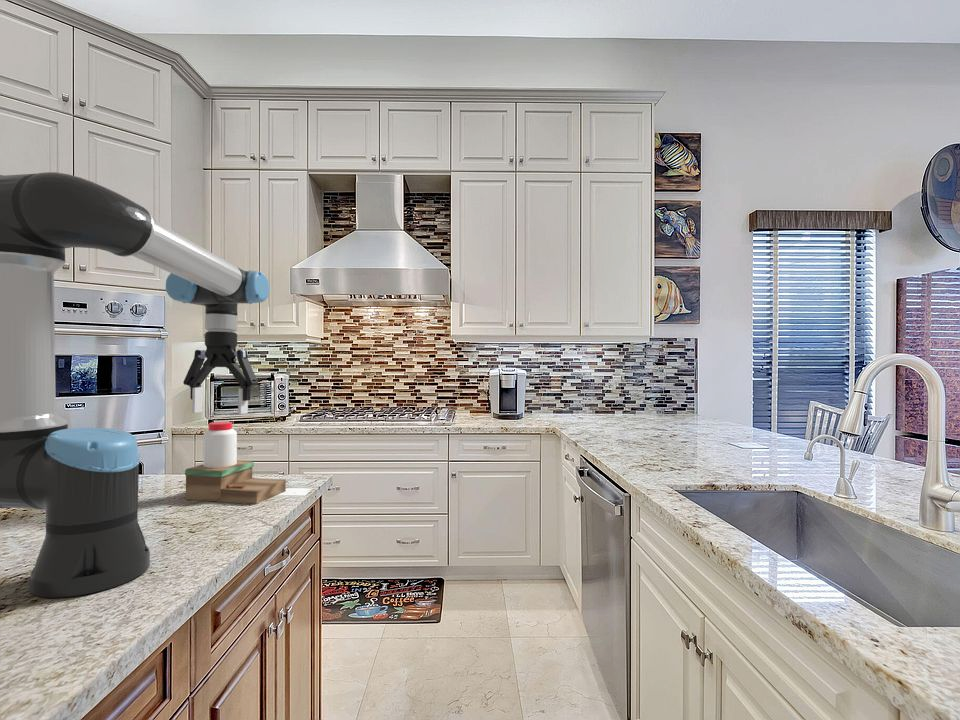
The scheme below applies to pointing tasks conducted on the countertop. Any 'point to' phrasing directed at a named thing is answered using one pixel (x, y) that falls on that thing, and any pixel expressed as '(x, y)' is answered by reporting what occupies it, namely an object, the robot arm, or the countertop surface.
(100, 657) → the countertop surface
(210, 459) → the pill bottle
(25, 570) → the countertop surface
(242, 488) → the stand
